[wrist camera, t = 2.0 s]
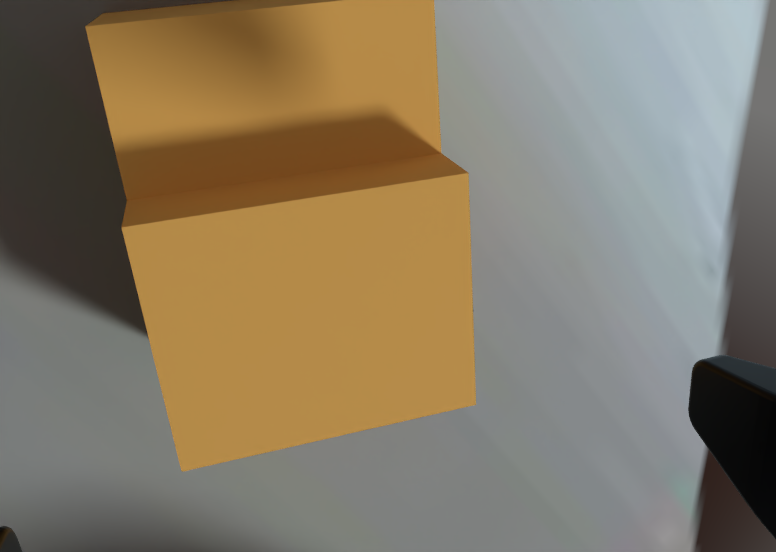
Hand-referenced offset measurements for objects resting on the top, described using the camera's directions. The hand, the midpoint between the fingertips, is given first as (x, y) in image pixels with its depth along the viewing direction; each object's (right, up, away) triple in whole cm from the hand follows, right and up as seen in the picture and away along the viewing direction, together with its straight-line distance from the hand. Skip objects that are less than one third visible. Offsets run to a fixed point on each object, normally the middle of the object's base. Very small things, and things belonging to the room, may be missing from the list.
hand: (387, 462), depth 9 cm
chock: (-3, +5, +8) cm, 10 cm away
